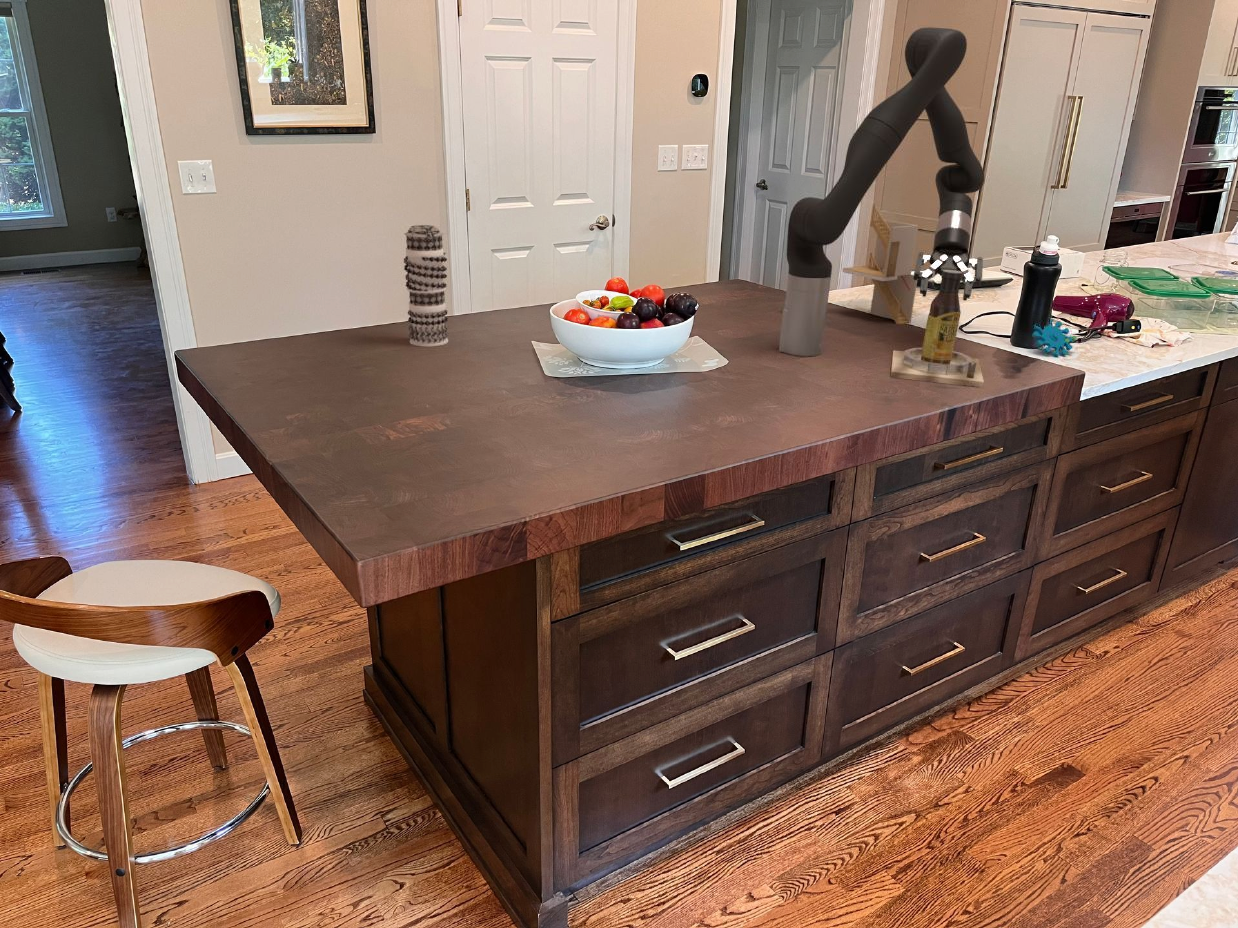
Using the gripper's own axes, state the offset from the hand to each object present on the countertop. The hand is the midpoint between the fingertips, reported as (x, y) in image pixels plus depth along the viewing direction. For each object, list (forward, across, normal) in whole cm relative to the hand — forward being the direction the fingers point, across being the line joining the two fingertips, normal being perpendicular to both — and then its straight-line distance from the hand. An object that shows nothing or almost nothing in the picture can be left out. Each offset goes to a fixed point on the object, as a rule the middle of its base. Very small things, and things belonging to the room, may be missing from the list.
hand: (944, 296), depth 195 cm
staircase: (-13, -14, +34) cm, 39 cm away
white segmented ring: (+17, 0, 0) cm, 17 cm away
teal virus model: (-1, +26, +21) cm, 34 cm away
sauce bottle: (+17, 0, +1) cm, 17 cm away
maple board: (+18, 0, +1) cm, 18 cm away
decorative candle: (+34, -108, -15) cm, 114 cm away
